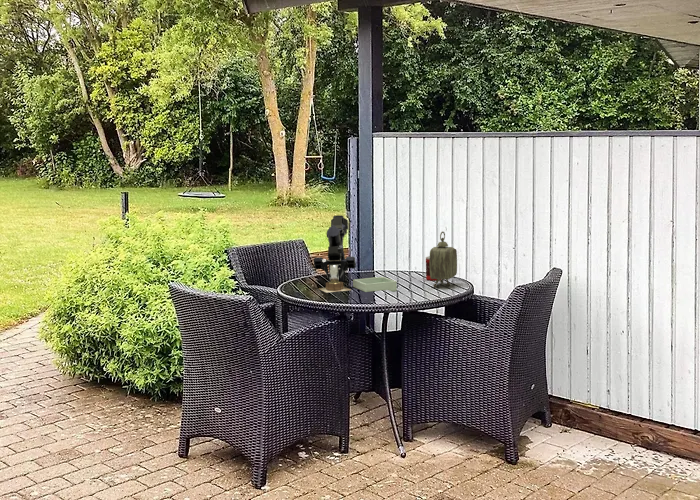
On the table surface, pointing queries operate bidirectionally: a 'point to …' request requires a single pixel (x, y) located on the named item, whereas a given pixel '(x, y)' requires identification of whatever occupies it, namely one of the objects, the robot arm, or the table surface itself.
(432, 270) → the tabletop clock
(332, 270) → the spice shaker
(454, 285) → the table surface
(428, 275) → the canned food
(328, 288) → the socket block
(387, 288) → the bin
